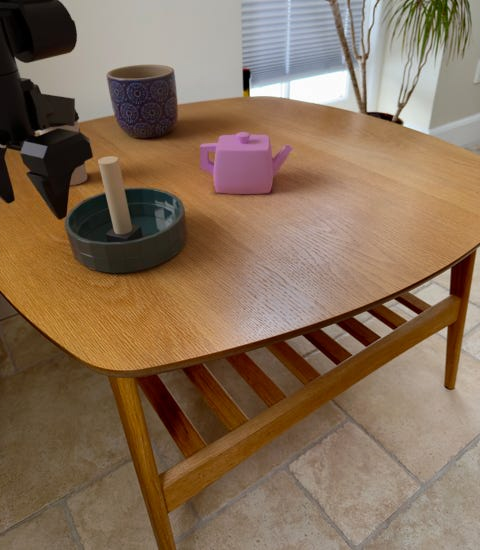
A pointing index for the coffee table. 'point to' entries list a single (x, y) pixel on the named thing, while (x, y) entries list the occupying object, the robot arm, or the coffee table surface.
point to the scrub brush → (117, 202)
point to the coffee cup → (79, 172)
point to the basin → (143, 212)
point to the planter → (144, 99)
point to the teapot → (242, 163)
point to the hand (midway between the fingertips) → (35, 209)
